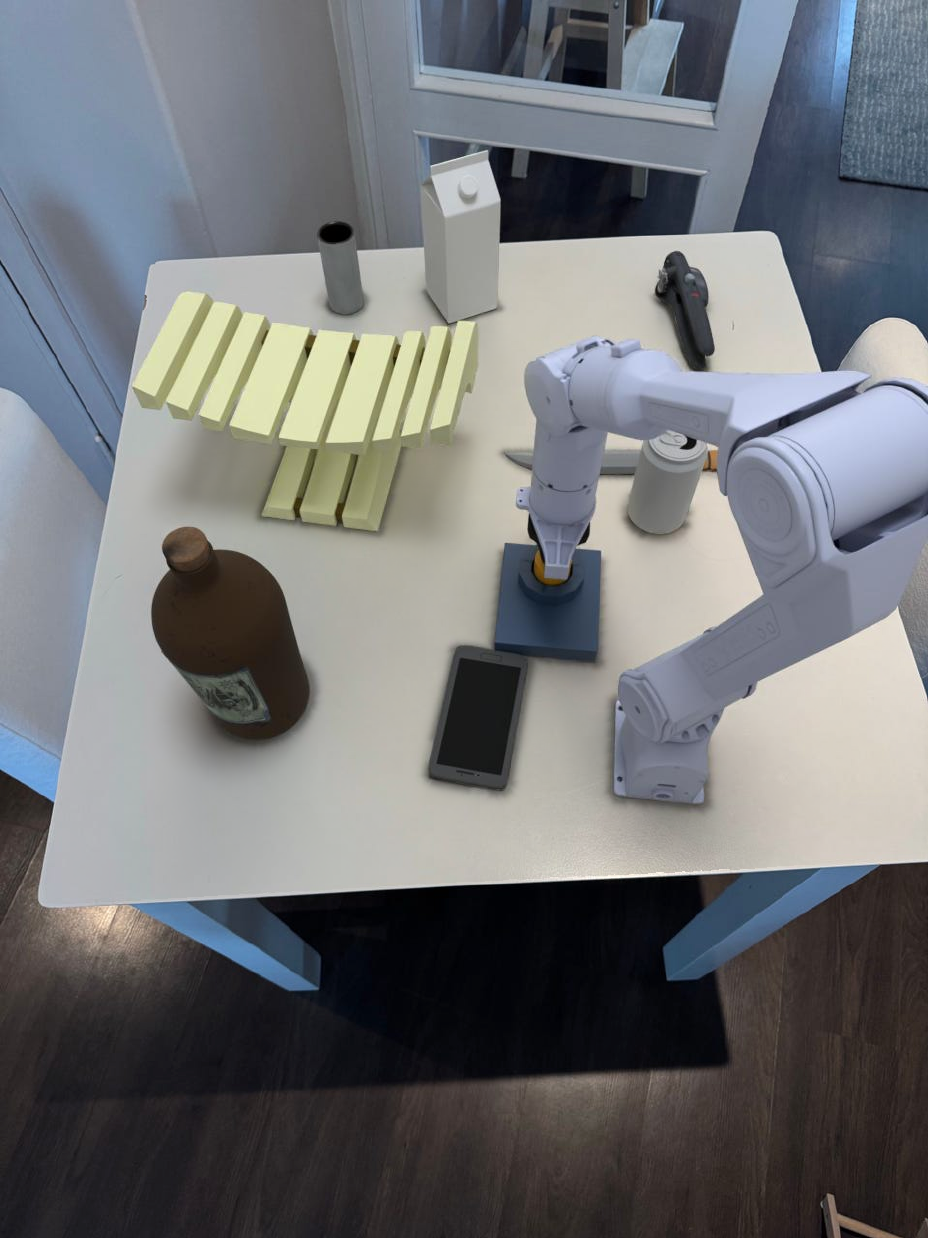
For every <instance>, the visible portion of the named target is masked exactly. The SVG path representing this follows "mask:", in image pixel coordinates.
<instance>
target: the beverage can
mask: <svg viewBox="0 0 928 1238" xmlns="http://www.w3.org/2000/svg"><path fill="white" fill-rule="evenodd" d="M640 450H641V452H640V456H639V460H638V464H637V468H636V472H635V474H634V477H633V481H632V485H631V490H630V494H629V497H628V501H627V514H628V517H629V518H630V520H631V522H632V523H633V524H634V525H635V526H637V527H638V528H639V529H641V530H642V531H645V532H648V533H651V534H655V535H657V534H658V535H661V534H662V535H663V534H664V535H665V534H670V533H672V532H675V531H676V530H678V529H679V528H680V527H681V526H682V525H683V524H684V523H685V521H686V519H687V516H688V514H689V510H690V507H691V504H692V501H693V498H694V495H695V493H696V490H697V487H698V484H699V481H700V478H701V475H702V472H703V470H704V469H703V467H704V464H705V461H706V458H707V455H708V450H709V448H708V443H705V442H702V441H699V440H697V439H694V438H691V437H688V436H685V435H682V434H679V433H676V432H674V431H671V430H668V431H667V432H665V433H664V434H662V435H661V436H659V437H657V438H654V439H650V440H642V443H641V447H640Z"/></svg>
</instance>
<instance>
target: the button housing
mask: <svg viewBox="0 0 928 1238" xmlns="http://www.w3.org/2000/svg"><path fill="white" fill-rule="evenodd" d="M503 547H504V548H503V556H502V566H501V576H500V586H499V595H498V605H497V615H496V623H495V632H494V633H495V634H494V643H493V645H494V647H493V650H497V651H503V652H509V653H515V654H520V655H523V656H525V657H535V658H546V659H556V660H567V661H578V662H588V663H589V662H590V663H596V661H597V657H598V653H599V634H600V633H599V631H600V604H601V603H600V602H601V601H600V599H601V570H602V569H601V568H602V567H601V566H602V563H601V562H602V550H600V549H589V548H588V549H587V548H576V549H575V551H574V553H573V555H572V563H571V569H570V574H569V577H568V579H567V580H566V581H565V582H563V583H562V584H559V585H554V586H551V585H546V584H543V583H542V582H540V581H539V580H538V579H537V578H536V576H535V574H534V563H535V555H536V553H537V551H538V550H539V548H538V546H537V544H526V543H513V542H504V546H503Z"/></svg>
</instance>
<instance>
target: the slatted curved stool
mask: <svg viewBox="0 0 928 1238" xmlns="http://www.w3.org/2000/svg"><path fill="white" fill-rule="evenodd" d="M171 307H172V308H171V310H170V311H169V313H168V315H167V316H166V319H165V321H164V322H163V325H162V326H161V329H160V331H159V332H158V334H157V336H156V338H155V340H154V342H153V344H152V346H151V347H150V350H149V351H148V354H147V355H146V357H145V359H144V361H143V363H142V365H141V366H140V369H139V370H138V373H137V375H136V376H135V379H134V381H133V383H132V384H131V387H132V390H133V392H134V394H135V396H136V398H137V401H138V403H139V404H140V407H141V409H148V410H156V411H161V410H162V409H163V407H164V404H165V403H166V405H167V408H168V410H169V412H170V415H171V417H172V419H174V420H181V421H182V420H183V421H191V422H192V421H193V419H194V417H195V415H196V412H197V411H198V409H199V407H200V405H201V402H202V400H203V398H204V396H205V395H206V397H205V398H204V401H203V403H202V405H201V407H200V410H199V412H198V414H197V415H198V418H199V420H200V423H201V426H202V428H203V430H210V431H219V432H223V431H224V428H225V426H226V424H227V421H228V419H229V417H230V415H231V413H232V410H233V409H234V406H235V404H236V402H237V400H238V398H239V396H240V394H241V396H240V399H239V401H238V403H237V406H236V408H235V410H234V412H233V415H232V417H231V420H230V422H229V424H228V426H229V429H230V432H231V435H232V436H233V440H237V441H238V440H240V441H246V442H247V441H248V442H256V443H262V444H272V443H273V439H274V438H275V434H276V433H277V432H276V431H277V430H278V427H279V425H280V422H281V420H282V418H283V415H284V413H285V411H286V409H287V406H288V405H289V408H288V411H287V413H286V416H285V419H284V421H283V424H282V426H281V429H280V432H279V435H278V441H279V445H280V446H286V448H285V451H284V453H283V456H282V458H281V462H280V465H279V467H278V470H277V473H276V475H275V477H274V481H273V483H272V486H271V488H270V491H269V494H268V496H267V499H266V502H265V504H264V508H263V510H262V513H261V517H265V518H273V519H280V520H287V521H295V519H296V517H300V518H301V521H302V523H310V524H319V525H324V526H325V525H326V526H332V527H333V526H334V527H336V526H337V524H338V522H339V523H342V524H343V527H344V528H347V529H348V528H349V529H356V530H364V531H371V532H376V533H377V532H378V531H379V528H380V525H381V521H382V517H383V515H384V510H385V506H386V503H387V499H388V496H389V492H390V489H391V485H392V481H393V478H394V474H395V470H396V466H397V463H398V459H399V456H400V453H401V449H402V447H403V448H410V449H418V450H422V448H423V445H424V441H425V437H426V434H427V431H428V427H429V423H430V419H431V416H432V412H433V409H434V406H435V409H434V412H433V417H432V421H431V424H430V429H429V435H430V444H435V445H441V446H449V447H451V446H452V443H453V439H454V435H455V430H456V426H457V423H458V420H459V419H458V418H459V415H460V412H461V407H462V404H463V401H464V397H465V393H468V394H472V393H473V389H474V386H475V381H476V376H477V372H478V368H479V324H478V322H477V321H476V322H475V321H467V320H459V321H457V324H456V327H455V331H454V334H453V339H452V331H451V328H450V327H449V326H443V325H442V326H441V325H431V326H430V331H429V334H428V337H427V342H426V337H425V334H424V331H420V330H419V331H418V330H405V331H404V334H403V338H402V341H401V344H400V341H399V339H398V336H397V335H389V334H375V333H373V334H372V333H362V334H361V336H360V339H357V337H356V334H355V333H354V332H347V331H346V332H345V331H336V330H328V329H327V330H326V329H318V331H317V334H314V331H313V329H312V328H311V327H308V326H307V327H305V326H299V325H294V324H286V323H281V322H272V323H270V321H269V319H268V317H267V316H266V315H264V314H258V313H253V312H242V309H241V308H240V307H239V305H238V304H234V303H229V302H221V301H220V302H219V301H214V300H213V297H212V296H210V295H209V294H208V293H204V292H198V291H197V292H196V291H189V290H188V291H183V292H181V293H180V294H179V295H178V296H177V298H176V299H175V302H174V303H173V306H171ZM210 385H211V386H210ZM208 389H209V390H208ZM207 391H208V392H207ZM206 392H207V394H206ZM241 392H242V393H241ZM435 403H436V405H435ZM407 408H408V409H407ZM406 410H407V413H406ZM405 414H406V416H405ZM404 416H405V419H404ZM403 420H405V421H404V423H403ZM402 423H403V426H402ZM401 426H402V431H401ZM354 468H355V469H354ZM353 471H354V473H353ZM352 475H353V476H352ZM351 479H352V480H351ZM350 482H351V483H350ZM349 484H350V487H349ZM348 488H349V490H348ZM347 491H348V494H347ZM346 494H347V497H346ZM345 497H346V502H345V503H344V501H345Z"/></svg>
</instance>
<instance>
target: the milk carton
mask: <svg viewBox="0 0 928 1238" xmlns="http://www.w3.org/2000/svg"><path fill="white" fill-rule="evenodd" d="M429 167H430V168H429V170H430V171H429V172H430V175H429V176H428V177H427V178H426V179H425V180H423V181H422V182H420V184H419V186H420V187H419V188H420V202H421V218H422V219H421V221H422V222H421V223H422V239H423V254H424V255H423V256H424V270H425V271H424V272H425V290H426V293H427V295H428V296H429V297H430V299H431V300H432V301H433V303H434V304H435V306H436V308H437V309H438V311H439V312H440V313H441V315H442V316H443V318H444V319H445V320H446V322H447V323H448V324H452V323H455V322H458V321H463V320H465V319H468V318H471V317H474V316H477V315H480V314H484V313H487V312H490V311H492V310H495V309H497V308H498V306H499V276H500V275H499V269H500V241H501V240H500V238H501V236H500V233H501V196H500V193H499V189H498V187H497V183H496V180H495V178H494V174H493V171H492V168H491V163H490V161H489V150H488V149H486V150H482V151H478V152H475V153H471V154H468V155H465V156H461V157H457V158H453V159H450V160H446V161H442V162H439V163H436V164H432V165H430V166H429Z"/></svg>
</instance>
